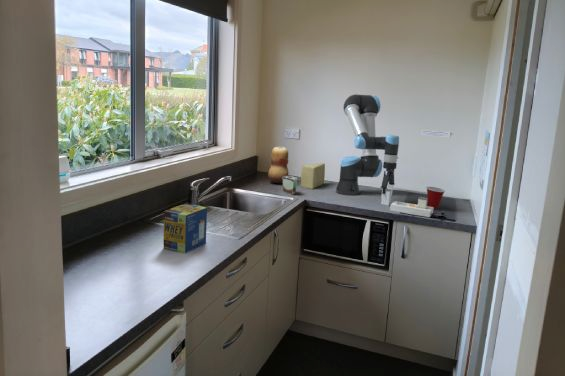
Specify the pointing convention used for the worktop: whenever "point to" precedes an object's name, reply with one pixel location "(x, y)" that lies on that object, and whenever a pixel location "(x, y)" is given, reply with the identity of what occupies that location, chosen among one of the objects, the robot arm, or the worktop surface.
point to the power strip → (412, 209)
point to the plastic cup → (434, 196)
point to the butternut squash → (278, 164)
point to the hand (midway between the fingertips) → (386, 197)
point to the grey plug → (387, 198)
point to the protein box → (185, 227)
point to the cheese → (312, 175)
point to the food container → (289, 184)
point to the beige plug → (422, 203)
